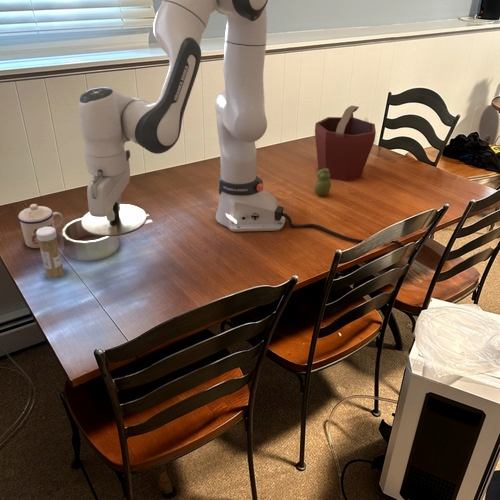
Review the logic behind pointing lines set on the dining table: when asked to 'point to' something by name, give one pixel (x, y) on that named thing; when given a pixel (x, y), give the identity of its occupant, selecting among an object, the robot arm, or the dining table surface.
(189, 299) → the dining table surface
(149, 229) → the dining table surface
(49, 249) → the sprinkles bottle
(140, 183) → the dining table surface
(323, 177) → the green figurine
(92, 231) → the pan lid
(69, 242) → the pan
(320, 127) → the bucket
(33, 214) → the teacup with lid
